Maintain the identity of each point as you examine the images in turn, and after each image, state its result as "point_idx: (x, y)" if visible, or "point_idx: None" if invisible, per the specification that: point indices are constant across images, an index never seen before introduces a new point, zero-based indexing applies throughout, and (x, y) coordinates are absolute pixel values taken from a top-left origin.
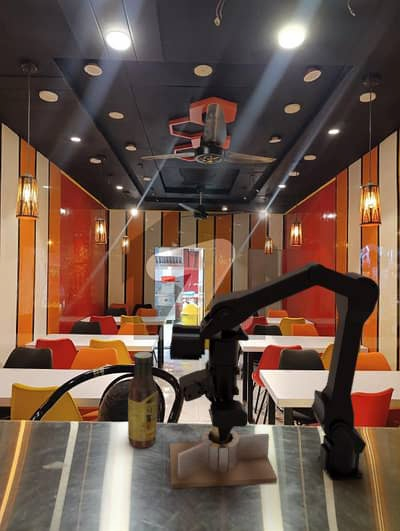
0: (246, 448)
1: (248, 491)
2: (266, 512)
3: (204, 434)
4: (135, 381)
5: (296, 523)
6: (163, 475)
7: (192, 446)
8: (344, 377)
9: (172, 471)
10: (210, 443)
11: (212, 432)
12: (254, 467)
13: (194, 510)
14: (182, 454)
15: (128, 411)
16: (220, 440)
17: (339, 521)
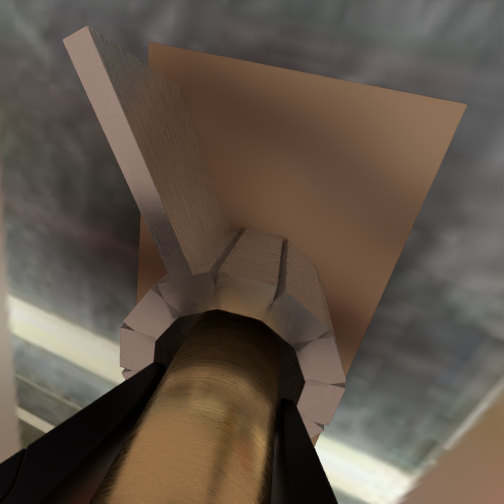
0: None
1: (118, 316)
2: (48, 321)
3: (275, 303)
4: None
5: (20, 361)
6: (251, 27)
7: (377, 223)
8: None
9: (227, 67)
10: (170, 301)
11: (211, 360)
12: None
13: (54, 125)
14: (74, 65)
15: None
16: (152, 364)
17: (29, 427)
